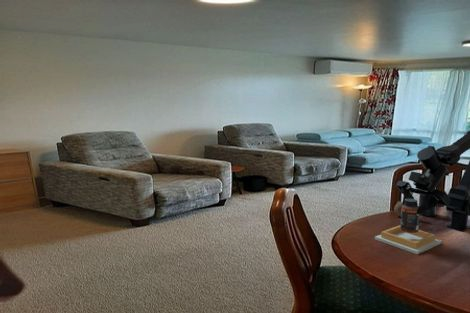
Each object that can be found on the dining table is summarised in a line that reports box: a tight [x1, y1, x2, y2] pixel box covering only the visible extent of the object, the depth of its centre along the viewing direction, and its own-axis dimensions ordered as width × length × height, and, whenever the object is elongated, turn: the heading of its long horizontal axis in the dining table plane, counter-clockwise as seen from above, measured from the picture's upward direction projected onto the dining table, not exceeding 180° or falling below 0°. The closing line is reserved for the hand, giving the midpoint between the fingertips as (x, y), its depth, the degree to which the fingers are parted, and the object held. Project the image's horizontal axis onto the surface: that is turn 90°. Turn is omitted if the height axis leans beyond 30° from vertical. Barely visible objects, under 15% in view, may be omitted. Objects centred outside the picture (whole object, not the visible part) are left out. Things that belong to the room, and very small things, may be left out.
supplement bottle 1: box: [400, 198, 421, 233], centre depth 136 cm, size 6×6×11 cm
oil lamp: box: [393, 200, 419, 218], centre depth 163 cm, size 9×4×8 cm, turn 60°
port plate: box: [374, 224, 442, 255], centre depth 137 cm, size 16×16×3 cm
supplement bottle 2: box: [418, 194, 437, 217], centre depth 167 cm, size 7×7×12 cm
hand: (409, 211), depth 136 cm, fingers closed on supplement bottle 1, 6 cm apart
